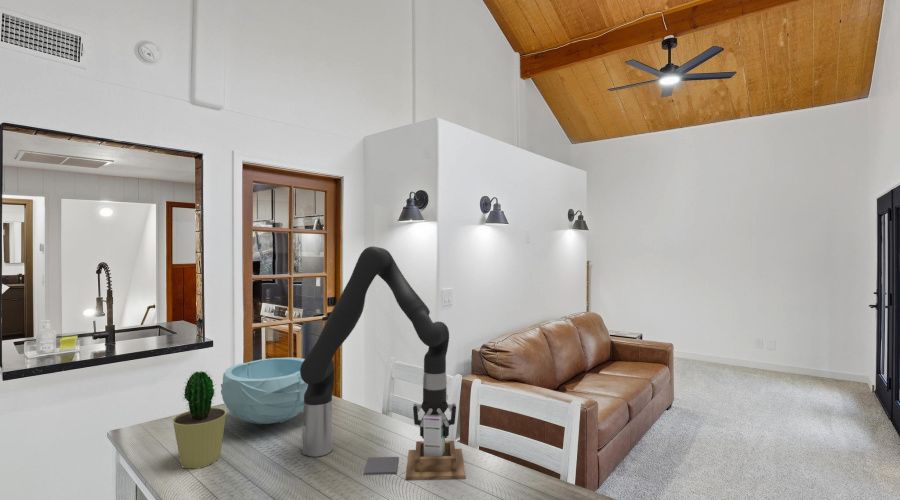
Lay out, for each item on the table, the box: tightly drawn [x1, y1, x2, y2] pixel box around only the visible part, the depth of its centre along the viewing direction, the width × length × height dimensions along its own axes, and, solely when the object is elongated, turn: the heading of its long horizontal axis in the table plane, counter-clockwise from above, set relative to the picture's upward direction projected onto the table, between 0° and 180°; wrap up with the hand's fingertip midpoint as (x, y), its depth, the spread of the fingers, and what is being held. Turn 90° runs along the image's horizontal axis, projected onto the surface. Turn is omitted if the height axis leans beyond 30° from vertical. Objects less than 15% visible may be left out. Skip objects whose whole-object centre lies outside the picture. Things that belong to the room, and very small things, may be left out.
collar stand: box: [405, 440, 467, 481], centre depth 145 cm, size 18×18×5 cm
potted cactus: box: [172, 370, 228, 469], centre depth 149 cm, size 15×15×30 cm
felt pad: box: [363, 456, 400, 475], centre depth 145 cm, size 10×10×1 cm
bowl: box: [220, 356, 308, 425], centre depth 181 cm, size 35×35×22 cm
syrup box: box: [423, 411, 446, 457], centre depth 145 cm, size 6×6×14 cm
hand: (434, 437), depth 145 cm, fingers closed on syrup box, 6 cm apart
